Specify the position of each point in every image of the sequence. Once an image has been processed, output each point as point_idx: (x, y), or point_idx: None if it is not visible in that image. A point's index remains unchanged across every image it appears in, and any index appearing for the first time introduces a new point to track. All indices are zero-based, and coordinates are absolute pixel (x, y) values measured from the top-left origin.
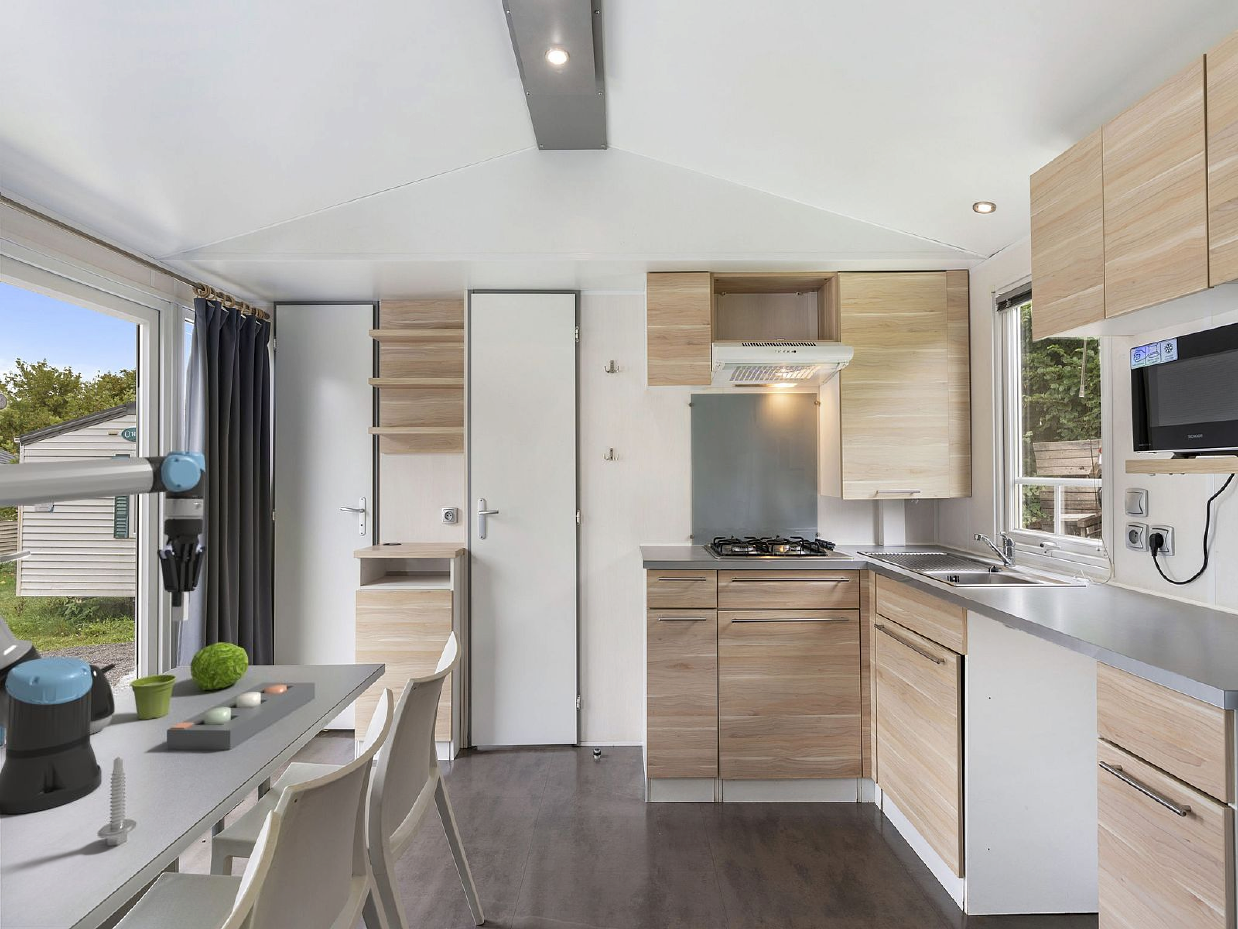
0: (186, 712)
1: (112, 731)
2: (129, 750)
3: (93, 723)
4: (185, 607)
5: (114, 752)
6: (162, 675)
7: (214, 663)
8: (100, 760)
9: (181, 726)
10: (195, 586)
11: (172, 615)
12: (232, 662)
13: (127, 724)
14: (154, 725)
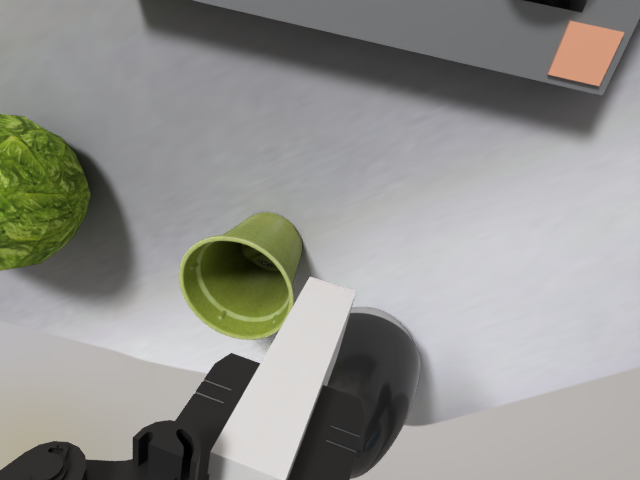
0: (252, 169)
1: (374, 286)
2: (551, 189)
3: (403, 329)
4: (312, 349)
5: (552, 220)
6: (184, 286)
7: (38, 191)
8: (609, 228)
9: (602, 51)
10: (68, 454)
11: (327, 383)
12: (8, 141)
13: (328, 273)
14: (349, 208)
